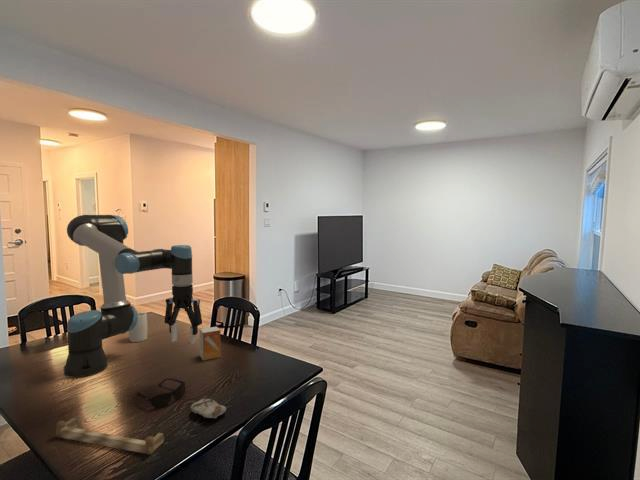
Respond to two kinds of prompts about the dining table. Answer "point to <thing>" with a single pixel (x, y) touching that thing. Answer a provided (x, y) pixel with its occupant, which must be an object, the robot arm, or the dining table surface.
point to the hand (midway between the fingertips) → (183, 341)
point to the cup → (139, 329)
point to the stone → (208, 408)
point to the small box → (209, 343)
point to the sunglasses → (166, 395)
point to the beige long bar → (108, 438)
